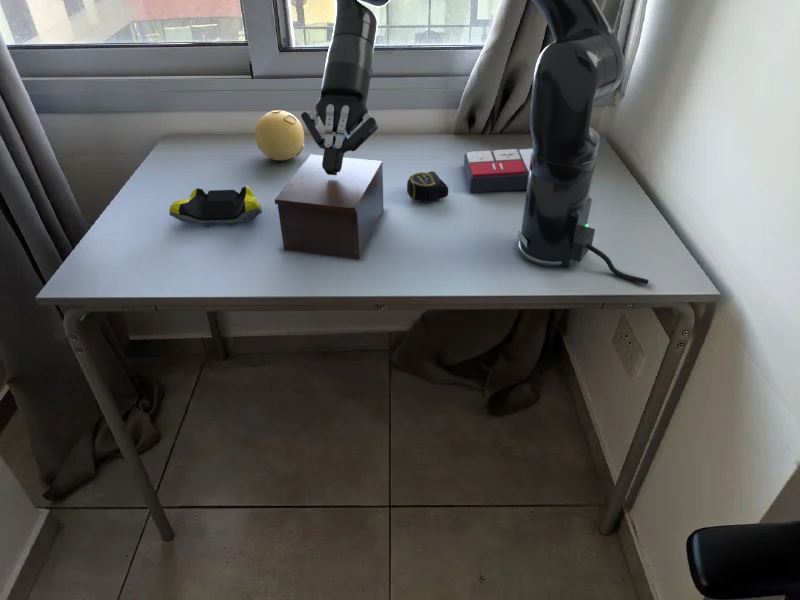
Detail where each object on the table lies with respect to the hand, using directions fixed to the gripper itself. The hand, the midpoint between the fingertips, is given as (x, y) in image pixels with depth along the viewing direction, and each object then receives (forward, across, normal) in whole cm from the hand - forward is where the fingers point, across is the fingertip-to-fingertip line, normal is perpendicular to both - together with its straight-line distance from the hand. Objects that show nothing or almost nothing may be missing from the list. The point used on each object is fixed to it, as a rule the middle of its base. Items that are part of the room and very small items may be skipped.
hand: (330, 173), depth 99 cm
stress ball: (-10, -20, +26) cm, 34 cm away
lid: (+1, 0, +1) cm, 2 cm away
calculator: (-10, +26, +26) cm, 39 cm away
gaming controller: (+8, -21, +7) cm, 23 cm away
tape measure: (-4, +13, +19) cm, 23 cm away
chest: (+7, 0, +8) cm, 11 cm away
